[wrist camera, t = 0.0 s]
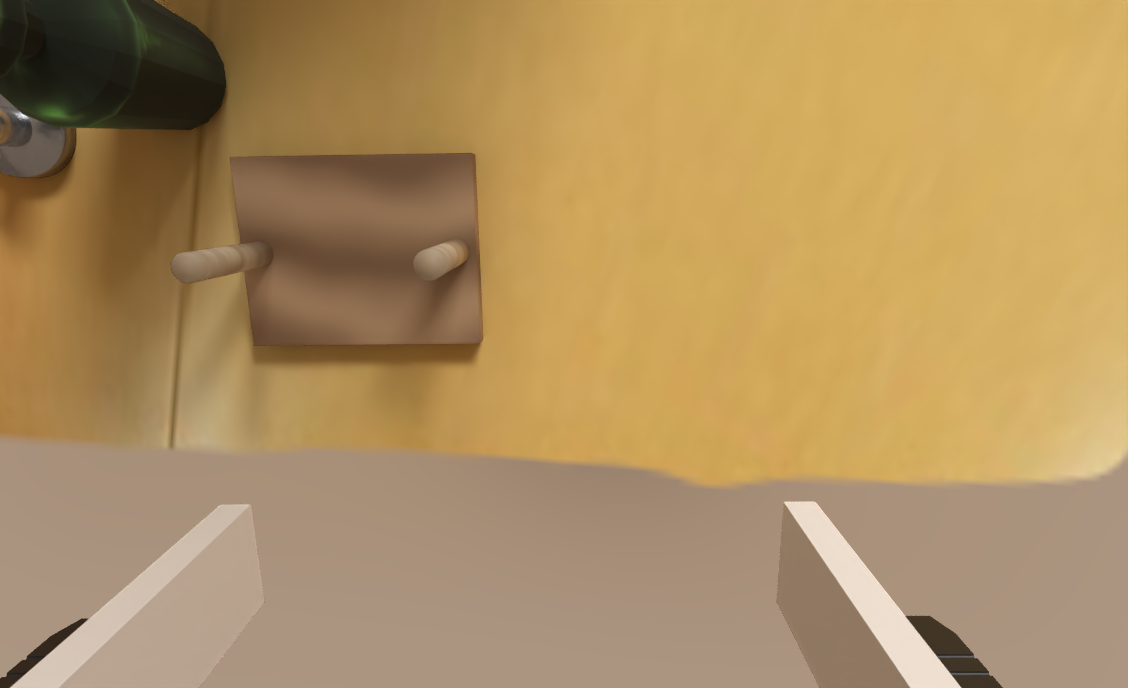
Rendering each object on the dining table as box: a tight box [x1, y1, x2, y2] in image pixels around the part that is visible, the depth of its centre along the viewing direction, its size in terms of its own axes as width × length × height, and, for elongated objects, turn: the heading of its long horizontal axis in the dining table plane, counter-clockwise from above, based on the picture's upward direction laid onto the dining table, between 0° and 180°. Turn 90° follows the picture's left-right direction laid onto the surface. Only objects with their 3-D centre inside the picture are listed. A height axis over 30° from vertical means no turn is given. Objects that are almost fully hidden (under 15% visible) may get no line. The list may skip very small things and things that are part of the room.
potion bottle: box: [0, 0, 226, 130], centre depth 31 cm, size 8×8×18 cm
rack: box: [171, 153, 483, 346], centre depth 37 cm, size 12×15×10 cm
